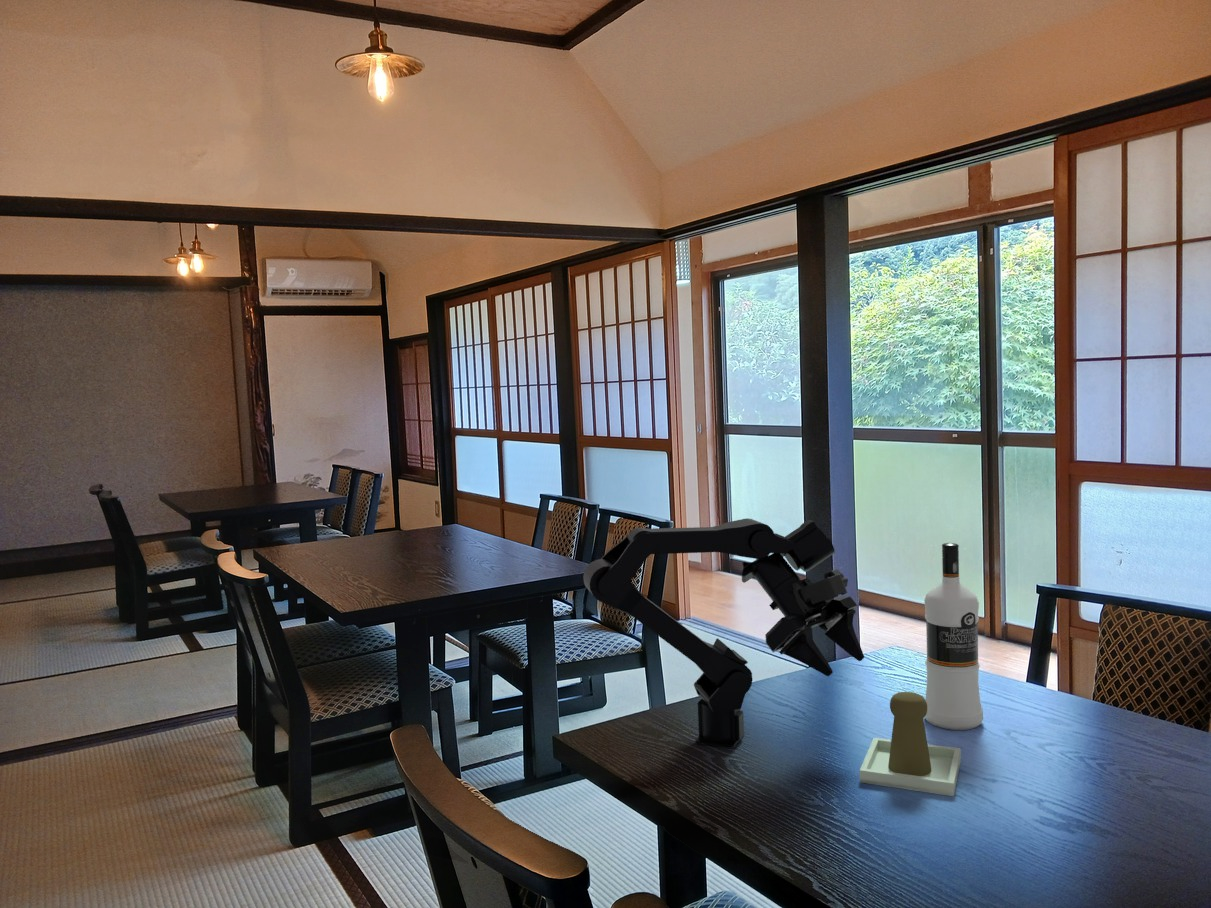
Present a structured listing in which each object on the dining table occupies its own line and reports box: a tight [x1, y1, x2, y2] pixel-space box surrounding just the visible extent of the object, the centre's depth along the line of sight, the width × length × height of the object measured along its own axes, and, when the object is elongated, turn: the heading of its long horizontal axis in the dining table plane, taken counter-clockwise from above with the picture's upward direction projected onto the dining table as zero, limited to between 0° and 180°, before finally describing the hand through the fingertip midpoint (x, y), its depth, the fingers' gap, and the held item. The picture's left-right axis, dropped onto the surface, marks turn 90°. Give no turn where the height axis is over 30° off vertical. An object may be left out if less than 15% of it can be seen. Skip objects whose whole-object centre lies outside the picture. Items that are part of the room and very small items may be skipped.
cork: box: [888, 691, 931, 776], centre depth 131 cm, size 6×6×11 cm
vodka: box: [924, 542, 984, 731], centre depth 148 cm, size 9×9×30 cm
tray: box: [859, 737, 962, 797], centre depth 131 cm, size 13×13×2 cm
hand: (846, 666), depth 138 cm, fingers open, 9 cm apart
